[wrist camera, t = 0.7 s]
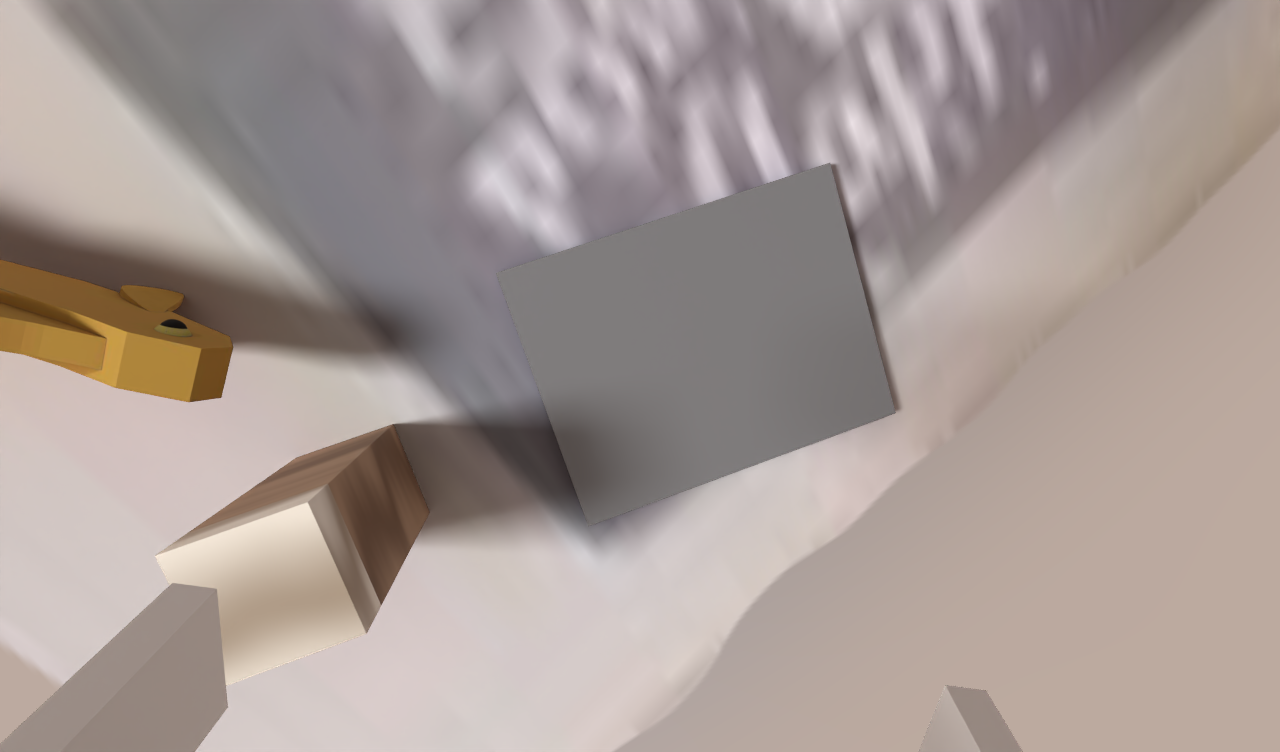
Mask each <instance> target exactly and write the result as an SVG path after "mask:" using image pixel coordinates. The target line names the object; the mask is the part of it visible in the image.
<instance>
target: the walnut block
mask: <svg viewBox="0 0 1280 752" xmlns="http://www.w3.org/2000/svg"><path fill="white" fill-rule="evenodd" d="M429 513H430V512H429V510H428V507H427V505H426V502H425V500H424V497H423V495H422V493H421V490H420V488H419V485H418V483H417V480H416V478H415V476H414V473H413V471H412V468H411V466H410V463H409V461H408V459H407V456H406V454H405V451H404V449H403V446H402V444H401V442H400V439H399V437H398V434H397V432H396V429H395V427H394V425H393V424H392V425H390V426H387V427H384V428H381V429H378V430H375V431H372V432H369V433H366V434H363V435H361V436H358V437H355V438H352V439H349V440H346V441H343V442H340V443H337V444H335V445H332V446H329V447H326V448H323V449H320V450H317V451H314V452H311V453H309V454H306V455H303V456H300V457H297V458H295V459H294V460H292V461H291V462H290V463H288V464H287V465H285V466H284V467H282V468H281V469H279V470H278V471H277V472H275V473H274V474H272V475H271V476H269V477H268V478H266V479H265V480H264V481H262V482H261V483H259V484H258V485H256V486H255V487H253V488H252V489H251V490H249V491H248V492H246V493H245V494H243V495H242V496H240V497H239V498H238V499H236V500H235V501H233V502H232V503H230V504H229V505H228V506H226V507H225V508H223V509H222V510H220V511H219V512H217V513H216V514H215V515H213V516H212V517H210V518H209V519H207V520H206V521H204V522H203V523H202V524H200V525H199V526H197V527H196V528H194V529H193V530H191V531H190V532H189V533H187V534H186V535H184V536H183V537H181V538H180V539H178V540H177V541H176V542H174V543H173V544H171V545H170V546H168V547H167V548H166V549H164V550H163V551H161V552H160V553H158V554H157V555H155V557H156V559H157V561H158V563H159V565H160V567H161V569H162V571H163V573H164V575H165V577H166V579H167V581H168V583H169V585H171V584H172V583H177V584H185V585H193V586H200V587H208V588H215V589H217V595H218V606H219V617H220V628H221V638H222V649H223V660H224V671H225V682H226V686H227V685H230V684H233V683H236V682H238V681H241V680H244V679H246V678H249V677H252V676H254V675H257V674H260V673H262V672H265V671H268V670H270V669H273V668H276V667H279V666H281V665H284V664H287V663H289V662H292V661H295V660H297V659H300V658H303V657H305V656H308V655H311V654H314V653H316V652H319V651H322V650H324V649H327V648H330V647H332V646H335V645H338V644H340V643H343V642H346V641H348V640H351V639H354V638H357V637H359V636H362V635H365V634H367V632H368V630H369V628H370V626H371V624H372V622H373V620H374V618H375V616H376V615H377V613H378V611H379V609H380V607H381V605H382V603H383V601H384V599H385V597H386V595H387V593H388V591H389V590H390V588H391V586H392V584H393V582H394V580H395V578H396V576H397V574H398V572H399V570H400V568H401V566H402V565H403V563H404V561H405V559H406V557H407V555H408V553H409V551H410V549H411V547H412V545H413V543H414V541H415V540H416V538H417V536H418V534H419V532H420V530H421V528H422V526H423V524H424V522H425V520H426V518H427V517H428V515H429Z"/></svg>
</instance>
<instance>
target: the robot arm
mask: <svg viewBox="0 0 1280 752" xmlns="http://www.w3.org/2000/svg"><path fill="white" fill-rule="evenodd" d="M227 708H228V704H227V693H226V682H225V671H224V660H223V649H222V638H221V628H220V617H219V606H218V595H217V589H215V588H208V587H200V586H193V585H185V584H177V583H172V584H171V585H170V586H169V587H168V588H167V589H166V590H164V591H163V592H162V593H161V594H160V595H159V596H158V597H157V598H156V599H155V600H154V601H153V602H152V603H151V604H149V605H148V606H147V607H146V608H145V609H144V610H143V611H142V612H141V613H140V614H139V615H138V616H137V617H135V618H134V619H133V620H132V621H131V622H130V623H129V624H128V625H127V626H126V627H125V628H124V629H123V630H122V631H120V632H119V633H118V634H117V635H116V636H115V637H114V638H113V639H112V640H111V641H110V642H109V643H108V644H107V645H105V646H104V647H103V648H102V649H101V650H100V651H99V652H98V653H97V654H96V655H95V656H94V657H93V658H92V659H90V660H89V661H88V662H87V663H86V664H85V665H84V666H83V667H82V668H81V669H80V670H79V671H78V672H77V673H75V674H74V675H73V676H72V677H71V678H70V679H69V680H68V681H67V682H66V683H65V684H64V685H63V686H62V687H60V688H59V689H58V690H57V691H56V692H55V693H54V694H53V695H52V696H51V697H50V698H49V699H48V700H47V701H45V702H44V703H43V704H42V705H41V706H40V707H39V708H38V709H37V710H36V711H35V712H34V713H33V714H32V715H30V716H29V717H28V718H27V719H26V720H25V721H24V722H23V723H22V724H21V725H20V726H19V727H18V728H17V729H16V730H14V731H13V732H12V733H11V734H10V735H9V736H8V737H7V738H6V739H5V740H4V741H3V742H2V743H1V744H0V752H195V751H196V749H197V748H198V747H199V745H200V744H201V743H202V741H203V740H204V738H205V737H206V736H207V734H208V733H209V732H210V730H211V729H212V728H213V726H214V725H215V724H216V722H217V721H218V720H219V718H220V717H221V716H222V714H223V713H224V712H225V710H226V709H227ZM919 752H1023V751H1022V749H1021V748H1020V746H1019V745H1018V743H1017V741H1016V740H1015V738H1014V736H1013V735H1012V733H1011V731H1010V729H1009V728H1008V726H1007V724H1006V723H1005V721H1004V719H1003V718H1002V716H1001V714H1000V713H999V711H998V709H997V708H996V706H995V705H994V703H993V701H992V699H991V698H990V696H989V694H988V693H987V691H986V690H978V689H971V688H963V687H956V686H948V685H945V687H944V690H943V693H942V695H941V697H940V700H939V702H938V705H937V707H936V710H935V712H934V715H933V717H932V720H931V722H930V724H929V727H928V729H927V732H926V735H925V737H924V739H923V742H922V744H921V747H920V749H919Z"/></svg>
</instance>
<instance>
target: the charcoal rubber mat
mask: <svg viewBox="0 0 1280 752" xmlns="http://www.w3.org/2000/svg"><path fill="white" fill-rule="evenodd" d="M496 275H497V278H498V280H499V283H500V286H501V289H502V291H503V294H504V297H505V299H506V302H507V305H508V308H509V310H510V313H511V316H512V319H513V321H514V324H515V327H516V330H517V332H518V335H519V338H520V341H521V343H522V346H523V349H524V352H525V354H526V357H527V360H528V362H529V365H530V368H531V371H532V373H533V376H534V379H535V382H536V384H537V387H538V390H539V393H540V395H541V398H542V401H543V404H544V406H545V409H546V412H547V415H548V417H549V420H550V423H551V426H552V428H553V431H554V434H555V436H556V439H557V442H558V445H559V447H560V450H561V453H562V456H563V458H564V461H565V464H566V467H567V469H568V472H569V475H570V478H571V480H572V483H573V486H574V489H575V491H576V494H577V497H578V499H579V502H580V505H581V508H582V510H583V513H584V516H585V519H586V521H587V524H588V526H591V525H594V524H596V523H599V522H602V521H605V520H607V519H610V518H613V517H615V516H618V515H621V514H624V513H626V512H629V511H632V510H634V509H637V508H640V507H642V506H645V505H648V504H651V503H653V502H656V501H659V500H661V499H664V498H667V497H670V496H672V495H675V494H678V493H680V492H683V491H686V490H689V489H691V488H694V487H697V486H699V485H702V484H705V483H708V482H710V481H713V480H716V479H718V478H721V477H724V476H726V475H729V474H732V473H735V472H737V471H740V470H743V469H745V468H748V467H751V466H754V465H756V464H759V463H762V462H764V461H767V460H770V459H773V458H775V457H778V456H781V455H783V454H786V453H789V452H792V451H794V450H797V449H800V448H802V447H805V446H808V445H810V444H813V443H816V442H819V441H821V440H824V439H827V438H829V437H832V436H835V435H838V434H840V433H843V432H846V431H848V430H851V429H854V428H857V427H859V426H862V425H865V424H867V423H870V422H873V421H876V420H878V419H881V418H884V417H886V416H889V415H892V414H894V413H896V412H895V409H894V405H893V401H892V397H891V393H890V389H889V386H888V382H887V378H886V374H885V370H884V367H883V363H882V359H881V355H880V351H879V348H878V344H877V340H876V336H875V332H874V328H873V325H872V321H871V317H870V313H869V309H868V306H867V302H866V298H865V294H864V290H863V287H862V283H861V279H860V275H859V271H858V268H857V264H856V260H855V256H854V252H853V248H852V245H851V241H850V237H849V233H848V229H847V226H846V222H845V218H844V214H843V210H842V207H841V203H840V199H839V195H838V191H837V187H836V184H835V180H834V176H833V172H832V168H831V165H830V163H828V164H825V165H822V166H819V167H816V168H813V169H810V170H807V171H804V172H801V173H798V174H795V175H792V176H789V177H785V178H782V179H779V180H776V181H773V182H770V183H767V184H764V185H761V186H758V187H755V188H752V189H749V190H746V191H743V192H740V193H737V194H734V195H731V196H728V197H725V198H722V199H719V200H716V201H713V202H710V203H707V204H704V205H701V206H698V207H695V208H692V209H689V210H686V211H683V212H680V213H677V214H674V215H670V216H667V217H664V218H661V219H658V220H655V221H652V222H649V223H646V224H643V225H640V226H637V227H634V228H631V229H628V230H625V231H622V232H619V233H616V234H613V235H610V236H607V237H604V238H601V239H598V240H595V241H592V242H589V243H586V244H583V245H580V246H577V247H574V248H571V249H568V250H565V251H562V252H558V253H555V254H552V255H549V256H546V257H543V258H540V259H537V260H534V261H531V262H528V263H525V264H522V265H519V266H516V267H513V268H510V269H507V270H504V271H501V272H498V273H496Z"/></svg>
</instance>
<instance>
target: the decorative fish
mask: <svg viewBox="0 0 1280 752" xmlns="http://www.w3.org/2000/svg"><path fill="white" fill-rule="evenodd" d="M183 298H184V295H183V294H181V293H178V292H174V291H170V290H165V289H159V288H152V287H145V286H136V285H123V286H122V287H121V290H120V292H119V293H118V292H116V291H113V290H110V289H107V288H104V287H101V286H98V285H95V284H92V283H89V282H86V281H82V280H78V279H74V278H70V277H66V276H62V275H58V274H55V273H51V272H47V271H43V270H39V269H35V268H31V267H27V266H23V265H19V264H16V263H12V262H8V261H4V260H0V351H5V352H12V353H18V354H24V355H27V356H30V357H33V358H36V359H40V360H43V361H46V362H49V363H52V364H55V365H58V366H61V367H64V368H66V369H69V370H71V371H74V372H76V373H79V374H82V375H84V376H87V377H89V378H92V379H94V380H97V381H99V382H102V383H105V384H107V385H110V386H112V387H115V388H119V389H124V390H129V391H135V392H140V393H145V394H150V395H155V396H160V397H165V398H170V399H175V400H181V401H186V402H194V401H201V400H208V399H215V398H221V397H222V392H223V388H224V384H225V380H226V375H227V371H228V367H229V362H230V358H231V354H232V350H233V345H232V342H231V339H230V336H227V335H225V334H223V333H220V332H218V331H216V330H213V329H211V328H208V327H206V326H204V325H201V324H199V323H197V322H194V321H192V320H190V319H187V318H185V317H183V316H180V315H178V314H175V313H173V311H174V310H176V309H177V308H178V307H179V306H180V305H181V303H182V300H183Z"/></svg>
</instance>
